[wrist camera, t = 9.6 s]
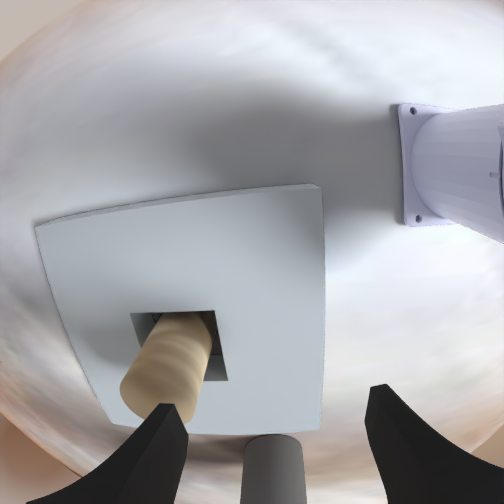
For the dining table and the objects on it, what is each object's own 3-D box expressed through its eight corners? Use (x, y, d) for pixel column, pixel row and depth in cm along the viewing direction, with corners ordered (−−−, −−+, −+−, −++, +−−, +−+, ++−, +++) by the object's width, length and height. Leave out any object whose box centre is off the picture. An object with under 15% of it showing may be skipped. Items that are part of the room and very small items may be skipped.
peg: (212, 297, 20) (185, 376, 12) (220, 345, 21) (201, 429, 13) (157, 299, 20) (109, 369, 12) (169, 345, 21) (133, 422, 13)
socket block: (312, 183, 17) (321, 187, 14) (315, 403, 22) (319, 429, 19) (59, 217, 18) (34, 227, 15) (123, 402, 24) (112, 423, 21)
